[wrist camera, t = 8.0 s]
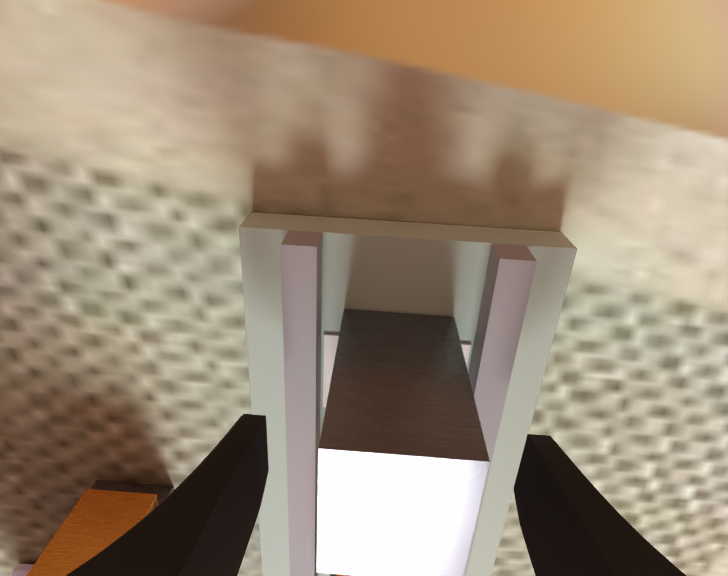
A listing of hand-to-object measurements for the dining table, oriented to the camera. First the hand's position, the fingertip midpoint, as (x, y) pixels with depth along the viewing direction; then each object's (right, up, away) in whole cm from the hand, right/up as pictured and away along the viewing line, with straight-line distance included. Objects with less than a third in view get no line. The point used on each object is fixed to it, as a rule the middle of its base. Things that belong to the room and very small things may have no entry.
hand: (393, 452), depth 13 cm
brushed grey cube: (0, +2, +3) cm, 3 cm away
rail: (0, -1, +6) cm, 6 cm away
